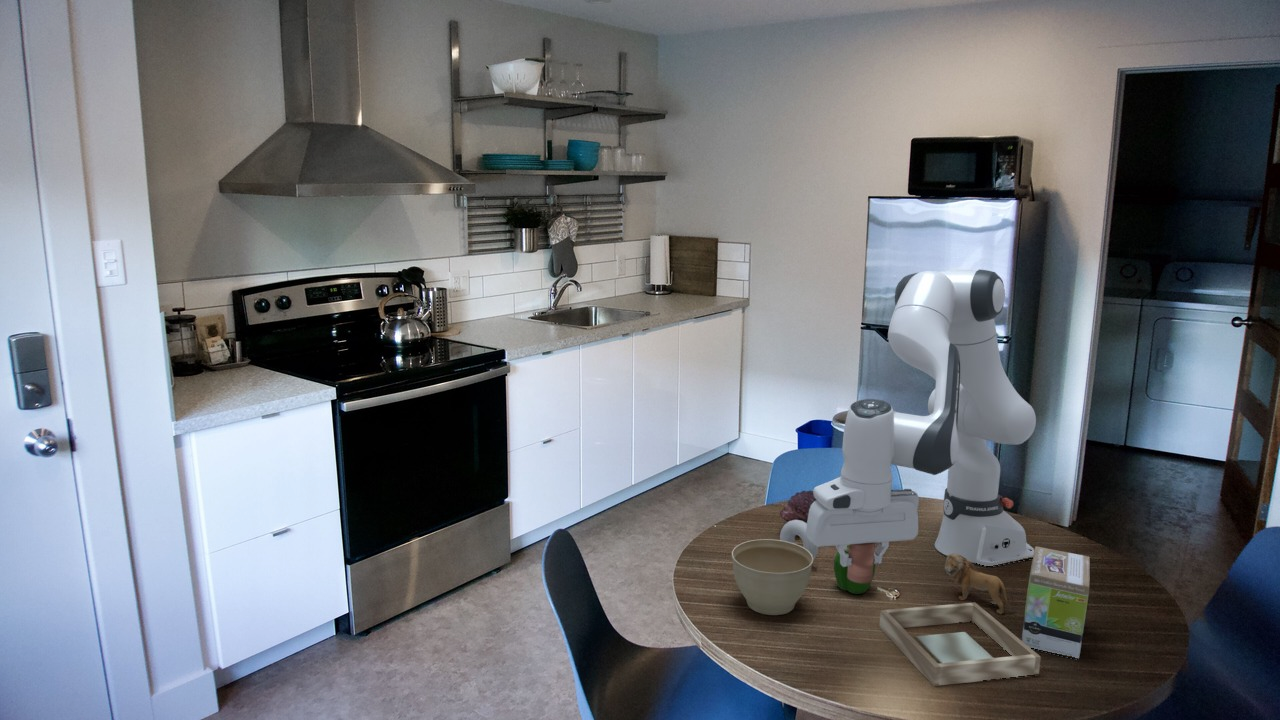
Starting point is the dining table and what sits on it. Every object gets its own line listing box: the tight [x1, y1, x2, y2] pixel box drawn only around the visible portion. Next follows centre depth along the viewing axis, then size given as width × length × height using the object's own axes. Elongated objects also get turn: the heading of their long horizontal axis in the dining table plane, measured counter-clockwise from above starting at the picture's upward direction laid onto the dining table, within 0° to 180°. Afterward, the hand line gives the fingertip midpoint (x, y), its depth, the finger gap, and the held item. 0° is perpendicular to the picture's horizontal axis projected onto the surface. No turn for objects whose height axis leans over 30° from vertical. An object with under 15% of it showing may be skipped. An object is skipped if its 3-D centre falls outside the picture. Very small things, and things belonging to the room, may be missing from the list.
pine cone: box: [779, 490, 816, 523], centre depth 208 cm, size 18×10×10 cm, turn 141°
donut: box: [779, 520, 819, 560], centre depth 189 cm, size 10×4×10 cm, turn 41°
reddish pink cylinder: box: [847, 543, 876, 583], centre depth 151 cm, size 4×4×7 cm
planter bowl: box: [731, 538, 814, 616], centre depth 169 cm, size 16×16×11 cm
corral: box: [879, 601, 1042, 687], centre depth 154 cm, size 20×20×4 cm
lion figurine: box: [944, 553, 1017, 615], centre depth 171 cm, size 15×5×9 cm, turn 50°
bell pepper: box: [833, 544, 876, 595], centre depth 177 cm, size 8×8×10 cm
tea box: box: [1021, 546, 1091, 659], centre depth 158 cm, size 15×10×15 cm, turn 152°
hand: (860, 564), depth 151 cm, fingers closed on reddish pink cylinder, 4 cm apart
